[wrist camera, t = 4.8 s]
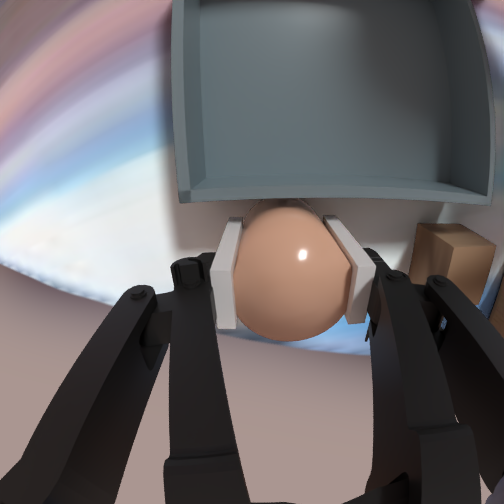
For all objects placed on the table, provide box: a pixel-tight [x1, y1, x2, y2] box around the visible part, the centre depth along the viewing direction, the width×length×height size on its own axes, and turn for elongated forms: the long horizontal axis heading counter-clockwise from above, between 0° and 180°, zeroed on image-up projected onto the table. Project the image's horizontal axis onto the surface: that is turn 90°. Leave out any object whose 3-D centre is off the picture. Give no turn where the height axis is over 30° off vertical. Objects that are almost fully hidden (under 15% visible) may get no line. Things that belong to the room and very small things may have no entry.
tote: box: [171, 0, 495, 206], centre depth 11 cm, size 17×19×5 cm
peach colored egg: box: [233, 198, 352, 341], centre depth 14 cm, size 5×5×7 cm
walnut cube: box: [408, 223, 496, 305], centre depth 17 cm, size 5×5×5 cm
